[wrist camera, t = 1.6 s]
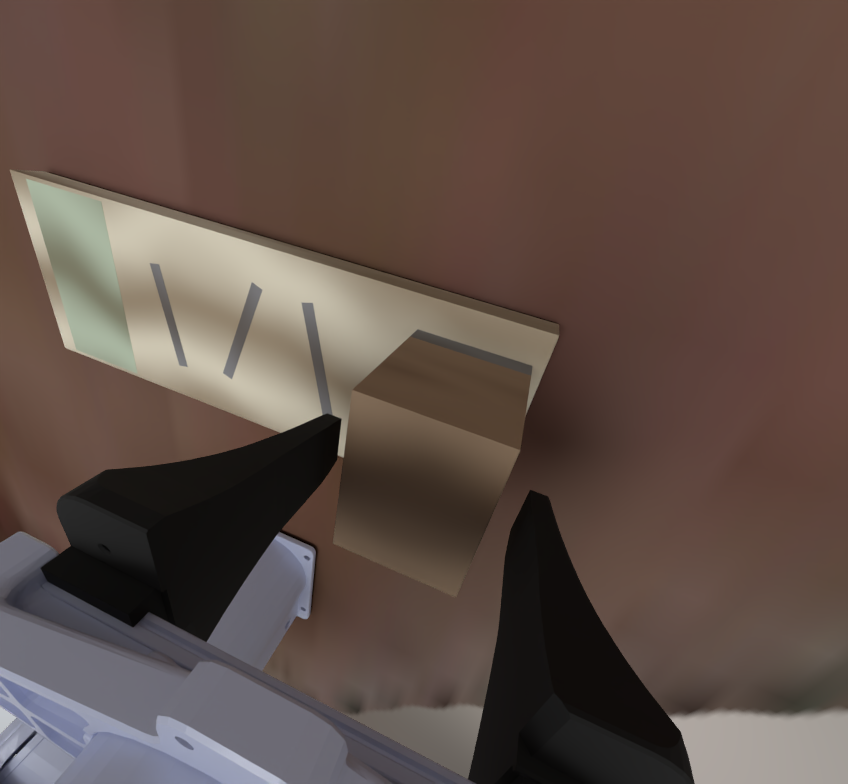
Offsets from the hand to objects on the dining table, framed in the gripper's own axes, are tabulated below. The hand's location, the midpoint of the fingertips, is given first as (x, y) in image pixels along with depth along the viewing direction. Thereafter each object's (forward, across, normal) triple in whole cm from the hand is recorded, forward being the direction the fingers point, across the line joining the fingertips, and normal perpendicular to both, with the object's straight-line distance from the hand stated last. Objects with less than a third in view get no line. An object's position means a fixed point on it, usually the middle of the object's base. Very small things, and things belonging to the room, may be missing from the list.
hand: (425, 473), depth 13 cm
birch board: (+6, +11, 0) cm, 12 cm away
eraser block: (+4, 0, 0) cm, 4 cm away
